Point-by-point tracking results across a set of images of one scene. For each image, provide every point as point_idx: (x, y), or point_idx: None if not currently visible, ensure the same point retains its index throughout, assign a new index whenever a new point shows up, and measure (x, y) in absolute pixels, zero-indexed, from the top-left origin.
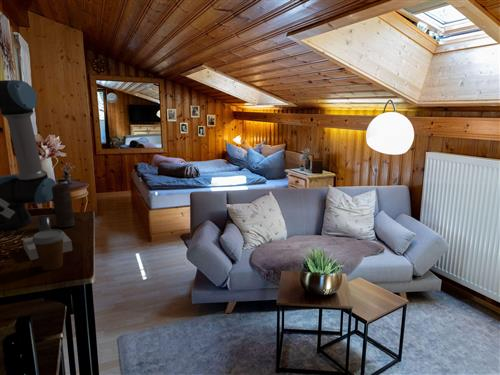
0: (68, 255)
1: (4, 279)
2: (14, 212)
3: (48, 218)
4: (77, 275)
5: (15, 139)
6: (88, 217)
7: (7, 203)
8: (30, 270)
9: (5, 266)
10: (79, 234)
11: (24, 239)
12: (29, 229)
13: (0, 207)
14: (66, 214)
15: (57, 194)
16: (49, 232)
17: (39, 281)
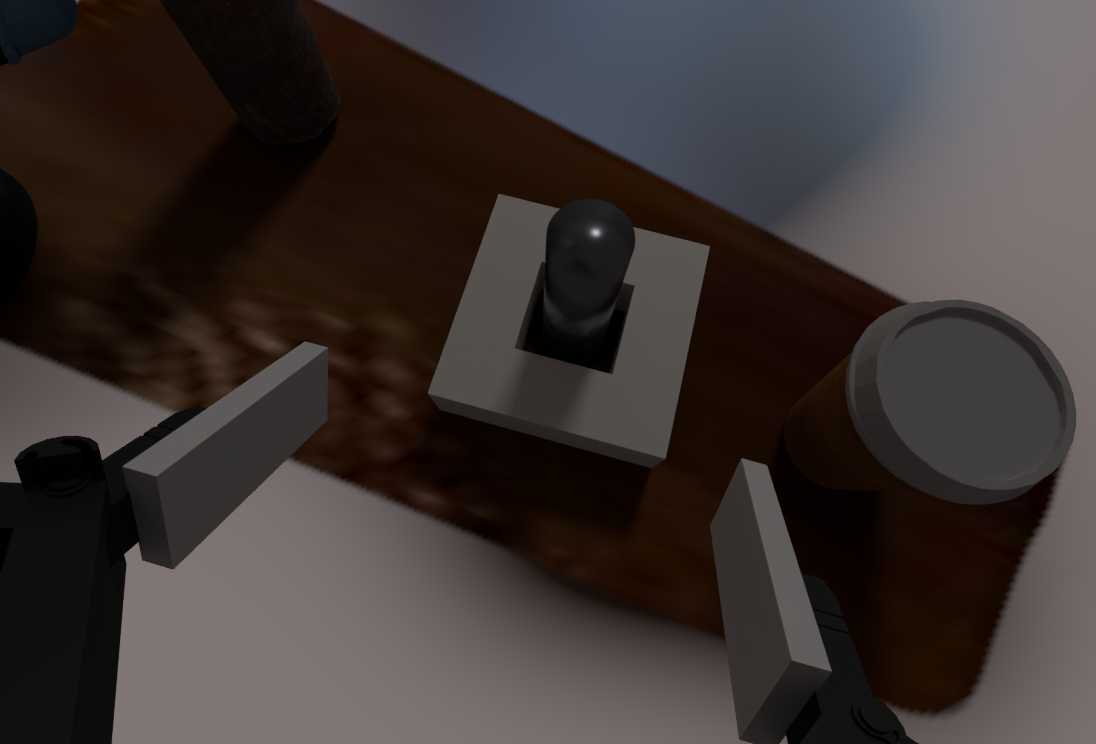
0: (744, 321)
1: None
2: (764, 471)
3: (628, 224)
4: None
5: None
6: None
7: (315, 361)
8: (794, 532)
9: (626, 593)
10: (490, 142)
11: (448, 391)
12: (134, 245)
13: (841, 633)
14: (308, 51)
15: None
16: (921, 362)
17: (973, 568)
